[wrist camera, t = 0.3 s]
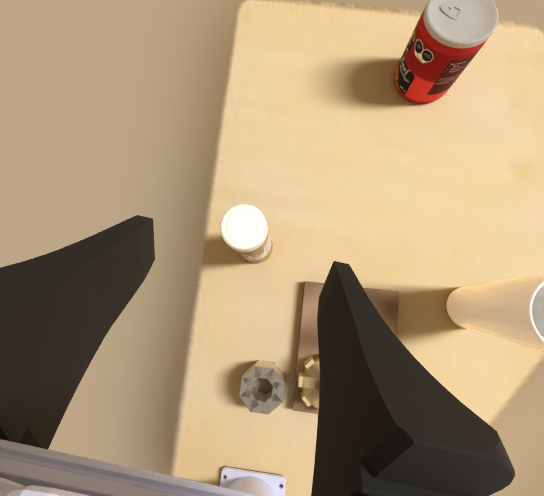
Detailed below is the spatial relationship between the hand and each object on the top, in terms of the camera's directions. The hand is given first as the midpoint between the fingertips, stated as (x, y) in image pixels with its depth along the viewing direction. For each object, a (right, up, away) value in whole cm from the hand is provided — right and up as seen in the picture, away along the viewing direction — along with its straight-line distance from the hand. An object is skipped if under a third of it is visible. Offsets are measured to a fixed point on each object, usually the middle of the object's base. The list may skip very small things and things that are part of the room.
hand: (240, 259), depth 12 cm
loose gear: (0, -17, +27) cm, 32 cm away
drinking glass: (+26, -7, +28) cm, 39 cm away
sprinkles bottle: (-1, 0, +30) cm, 30 cm away
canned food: (+23, +25, +33) cm, 47 cm away
